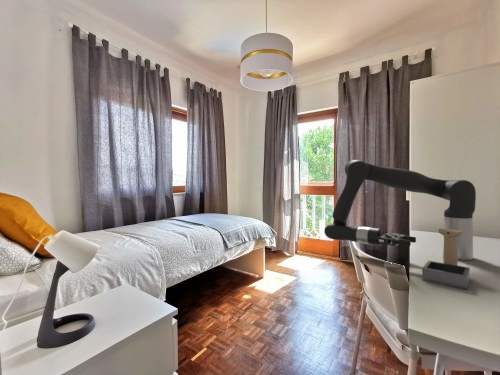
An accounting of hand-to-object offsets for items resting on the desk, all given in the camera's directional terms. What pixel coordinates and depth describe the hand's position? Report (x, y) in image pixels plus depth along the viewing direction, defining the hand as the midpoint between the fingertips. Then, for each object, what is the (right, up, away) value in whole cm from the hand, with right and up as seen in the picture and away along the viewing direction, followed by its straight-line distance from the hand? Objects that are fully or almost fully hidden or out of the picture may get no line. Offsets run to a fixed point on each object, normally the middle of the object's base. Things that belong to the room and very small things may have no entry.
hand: (413, 241), depth 92 cm
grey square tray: (0, -9, -15) cm, 18 cm away
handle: (+8, -9, -8) cm, 15 cm away
